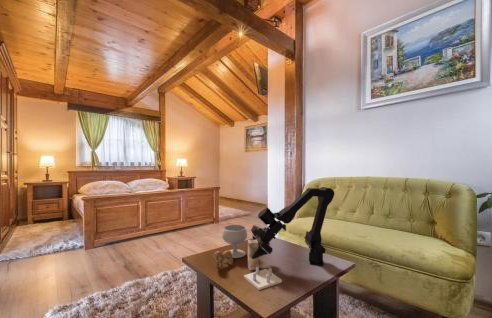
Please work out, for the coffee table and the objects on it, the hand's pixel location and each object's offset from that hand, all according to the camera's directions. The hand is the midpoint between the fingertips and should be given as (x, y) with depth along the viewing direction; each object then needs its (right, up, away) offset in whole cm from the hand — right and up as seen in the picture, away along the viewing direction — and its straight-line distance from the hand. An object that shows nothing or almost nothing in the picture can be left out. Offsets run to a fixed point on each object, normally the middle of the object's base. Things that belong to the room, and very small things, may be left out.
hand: (250, 254), depth 115 cm
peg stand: (+5, -7, -11) cm, 14 cm away
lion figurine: (-13, -7, +2) cm, 15 cm away
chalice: (-8, -7, +17) cm, 20 cm away
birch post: (+1, -7, 0) cm, 7 cm away
